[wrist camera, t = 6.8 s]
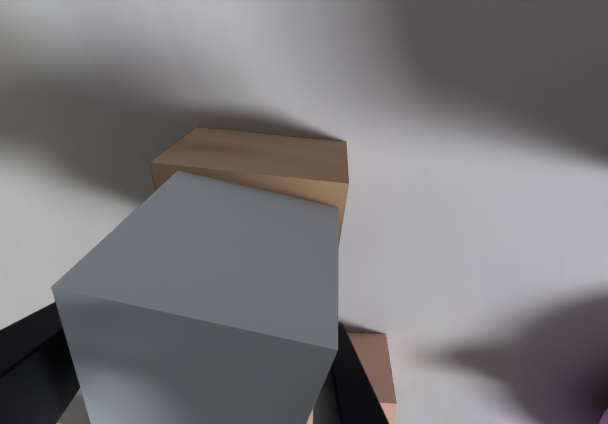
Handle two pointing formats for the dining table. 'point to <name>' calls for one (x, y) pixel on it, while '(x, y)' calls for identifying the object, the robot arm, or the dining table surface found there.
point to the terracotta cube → (375, 369)
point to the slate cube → (206, 308)
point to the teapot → (604, 418)
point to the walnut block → (262, 164)
